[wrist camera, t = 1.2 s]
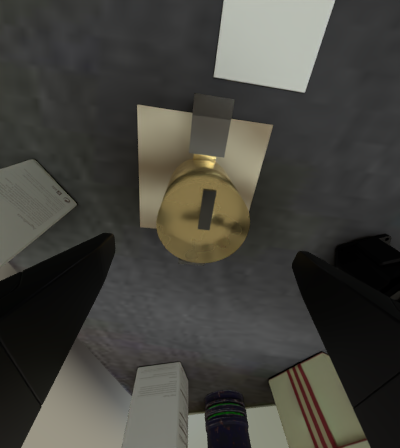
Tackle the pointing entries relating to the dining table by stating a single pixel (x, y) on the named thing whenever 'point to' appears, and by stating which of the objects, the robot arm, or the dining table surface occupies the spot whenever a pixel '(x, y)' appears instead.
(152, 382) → the supplement box
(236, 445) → the storage jar
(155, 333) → the dining table surface
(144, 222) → the cream slotted block
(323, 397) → the gift box
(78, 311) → the robot arm
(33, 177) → the skincare box
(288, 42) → the grey mat
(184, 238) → the brass bell
